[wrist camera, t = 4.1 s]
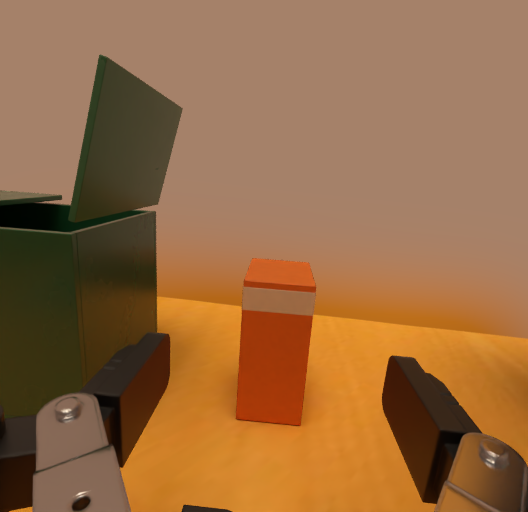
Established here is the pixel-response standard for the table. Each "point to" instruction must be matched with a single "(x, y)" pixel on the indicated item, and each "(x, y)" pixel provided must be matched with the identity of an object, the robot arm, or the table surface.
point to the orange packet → (275, 340)
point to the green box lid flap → (123, 145)
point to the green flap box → (68, 296)
